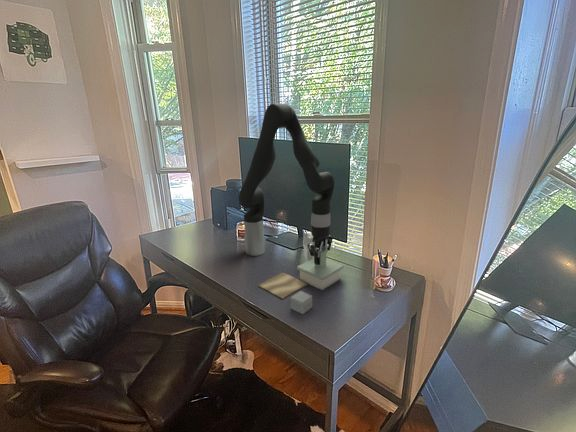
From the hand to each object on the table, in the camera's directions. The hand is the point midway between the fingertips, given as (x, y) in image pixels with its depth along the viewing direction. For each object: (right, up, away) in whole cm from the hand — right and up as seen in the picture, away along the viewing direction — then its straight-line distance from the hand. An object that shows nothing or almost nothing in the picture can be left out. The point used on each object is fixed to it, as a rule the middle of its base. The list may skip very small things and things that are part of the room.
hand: (320, 262), depth 130 cm
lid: (0, -3, +1) cm, 3 cm away
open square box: (0, -7, +3) cm, 8 cm away
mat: (-15, -9, -1) cm, 18 cm away
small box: (-8, -14, -16) cm, 23 cm away
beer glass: (-3, -4, +15) cm, 15 cm away
